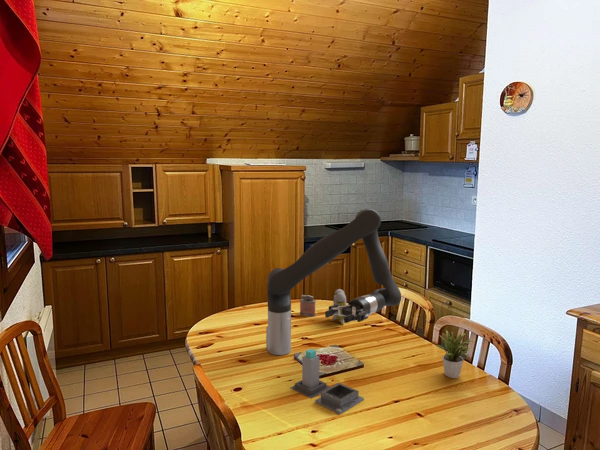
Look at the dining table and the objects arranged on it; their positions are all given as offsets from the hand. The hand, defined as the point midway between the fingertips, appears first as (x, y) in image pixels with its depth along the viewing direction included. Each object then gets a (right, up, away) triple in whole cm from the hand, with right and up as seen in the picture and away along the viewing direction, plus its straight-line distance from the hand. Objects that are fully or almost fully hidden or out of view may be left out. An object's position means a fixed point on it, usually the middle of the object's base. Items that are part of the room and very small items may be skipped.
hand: (335, 317), depth 161 cm
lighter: (-8, -13, +69) cm, 70 cm away
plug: (-9, -22, -6) cm, 25 cm away
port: (0, -24, -14) cm, 28 cm away
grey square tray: (-9, -23, -6) cm, 25 cm away
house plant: (+42, -22, +4) cm, 48 cm away
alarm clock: (+6, -14, +59) cm, 61 cm away
